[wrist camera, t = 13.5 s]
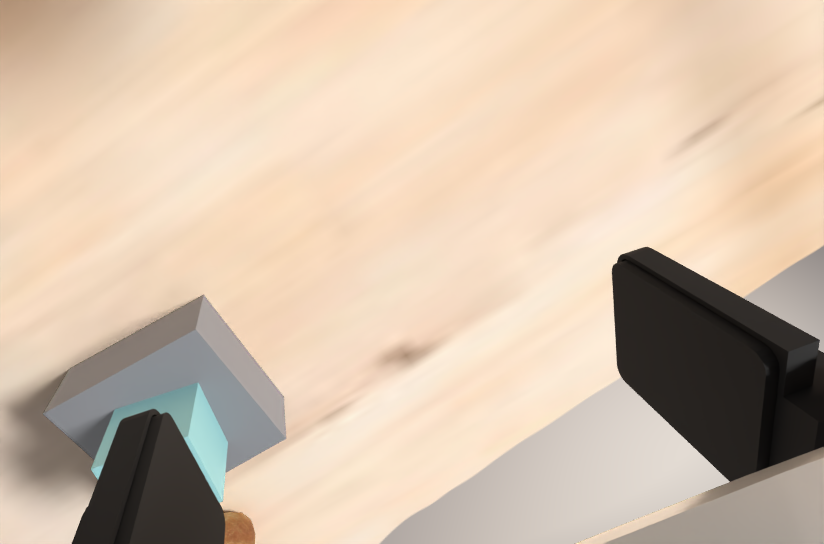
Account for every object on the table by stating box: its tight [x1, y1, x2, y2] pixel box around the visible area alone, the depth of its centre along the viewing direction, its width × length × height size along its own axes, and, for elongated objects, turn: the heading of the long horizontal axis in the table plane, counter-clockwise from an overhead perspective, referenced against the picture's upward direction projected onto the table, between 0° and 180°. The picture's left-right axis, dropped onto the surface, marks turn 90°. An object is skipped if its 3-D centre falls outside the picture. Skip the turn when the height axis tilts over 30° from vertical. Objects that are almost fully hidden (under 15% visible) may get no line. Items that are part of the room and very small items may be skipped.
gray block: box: [43, 295, 286, 473], centre depth 43 cm, size 12×12×6 cm
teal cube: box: [91, 383, 228, 503], centre depth 37 cm, size 6×6×6 cm
